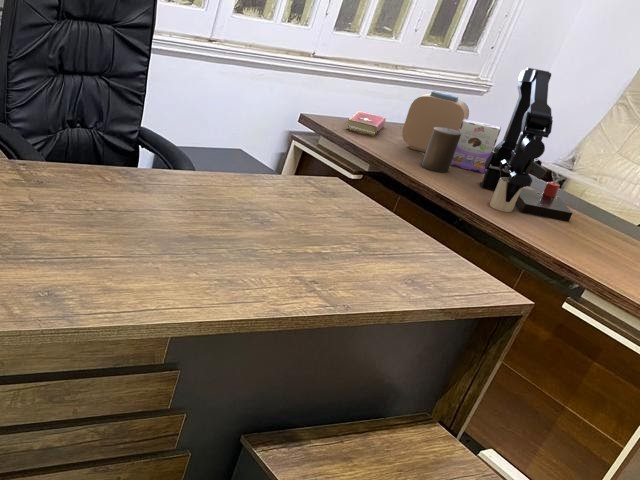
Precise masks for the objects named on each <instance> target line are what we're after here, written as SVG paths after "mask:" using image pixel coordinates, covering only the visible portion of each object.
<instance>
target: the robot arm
mask: <svg viewBox="0 0 640 480" xmlns="http://www.w3.org/2000/svg"><path fill="white" fill-rule="evenodd" d="M551 77H552V72H550V71H548V70H544V69H543V70H542V69H537V68H532V67H526V68H525V69H523V70H521V71H520V72H519V75H518V79H517V82H518V84H517V87H516V88H517V92H518V97H517V101H516V103H515V107H514V109H513V112H512V114H511V118H510V120H509V122H508V126H507V128H506V130H505V134H504V136H503V139H502V140H501V141H499V143H498V144H497V145H495V147H494V149H493V152H492V153H491V154H490V156H489V157H488V158H487V160H486V162H485V168H486V170H485V173H484V175H483V178H482V181H479V184H480V185H481V187H482V188H483V189H486V190H487V189H488V190H493V191H495V189H496V187H497V184H498V182H499V179H500V178H501V177H508V178H509V179H508V180H507V183H506V202H510V201H511V199H512V198H513V197H514V195H515V194H516V193H517V192H518V190H519V189H521V188H527V187H531V185H532V183H533V178H532V177H531V175H533V176H534V177H536V178H537V179H538V180H541V179H542V178H543V177H544V176H545V175H546V173H547V172H548V170H547V169H546V168H545V167H544V166H543V165H542V164H543V162H542V160H540V159H539V158H540V157H542V156H543V155H544V153H545V151H546V146H545V143H544V142H543V138H549V135H551V133H552V128H553V123H554V120H553V115H552V114H553V113H552V108H551V106H550V105H549V104H548V98H549V97H548V96H549V83H550V80H551ZM530 174H531V175H530Z"/></svg>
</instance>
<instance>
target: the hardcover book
mask: <svg viewBox="0 0 640 480" xmlns="http://www.w3.org/2000/svg"><path fill="white" fill-rule="evenodd" d="M386 119H387V118H386V117H385V116H381V115H377V114H374V113H368V112H364V111H361V110H358V111H357V112H356V113H354V114H353V115H352V116H351V117H350V118H348V124H347V127H346V128H348V129H351V130H355V131H358V132H357V133H359V132H362V133H361V134H363V133H365V134H364V135H367V134H369V135H368V136H371V135H372V136H373V137H375V136H376V134H377V133H378V132H380V130H381V129H382V128H383V127H384V126H385V124H386ZM348 125H350V126H355V127H358V128H361V129H365V130H368V131H372V132H375V133H376V132H377V131H378V132H377V133H376V134H374V133H371V132H367V131H363V130H359V129H355V128H351V127H348ZM351 130H350V131H351ZM355 131H354V132H355ZM372 136H371V137H372Z"/></svg>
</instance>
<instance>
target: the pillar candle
mask: <svg viewBox="0 0 640 480" xmlns="http://www.w3.org/2000/svg"><path fill="white" fill-rule="evenodd" d="M460 136H461V133H460V132H459V131H456V130H453V129H449V128H444V127H434V130H433V133H432V136H431V139H430V142H429V144H428V147H427V150H426V153H425V154H424V157H423V160H422V162H421V166H422V167H423V168H425V169H428V170H430V171H433V172H439V173H448V172H449V171H450V167H451V162H452V159H453V156H454V153H455V150H456V147H457V145H458V142H459V139H460Z"/></svg>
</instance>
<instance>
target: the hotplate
mask: <svg viewBox="0 0 640 480" xmlns="http://www.w3.org/2000/svg"><path fill="white" fill-rule="evenodd" d="M543 192H544V191H541V190H538V189H537V190H535V189H531V188H527V187H523V188H522V190H521V192H520V194H519V197H518V199H517V202H516V204H515V206H516V207H517V208H518V209H519V211H520V212H521V213H522V214H527V215H532V216H538V217H542V218H547V219H552V220H558V221H562V222H567V223H569V222H570V221H571V218H572V216H573V212H572V211H571V209H570V208H569V207H568V206H567V204H565V202H564V201H563V200H562V197H561V196H558V194H556V196H555V197H548V196H545V195H543Z"/></svg>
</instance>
